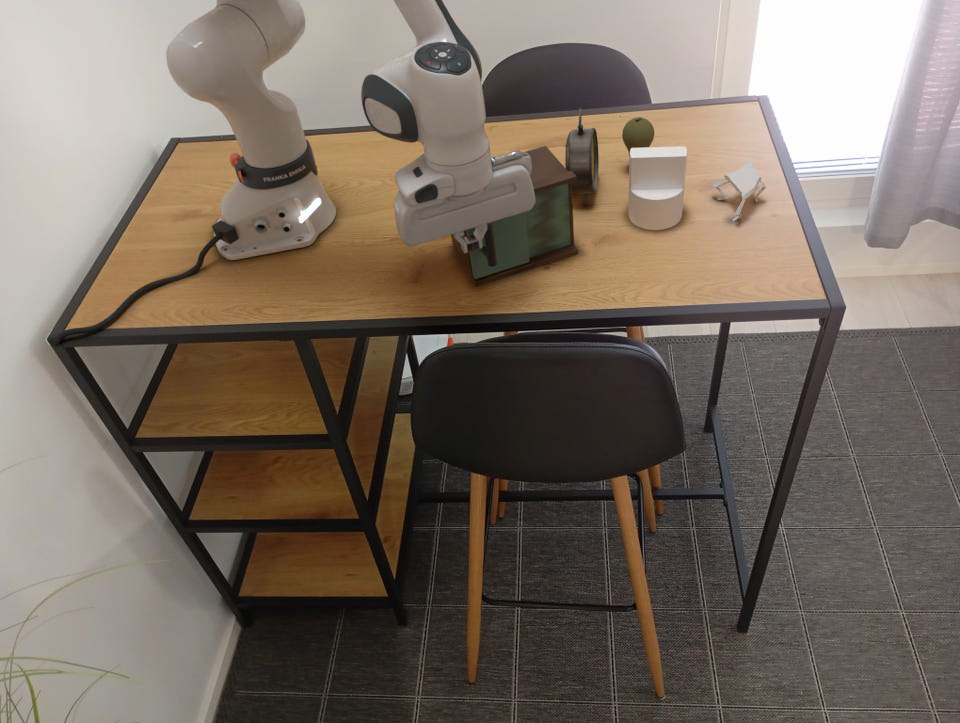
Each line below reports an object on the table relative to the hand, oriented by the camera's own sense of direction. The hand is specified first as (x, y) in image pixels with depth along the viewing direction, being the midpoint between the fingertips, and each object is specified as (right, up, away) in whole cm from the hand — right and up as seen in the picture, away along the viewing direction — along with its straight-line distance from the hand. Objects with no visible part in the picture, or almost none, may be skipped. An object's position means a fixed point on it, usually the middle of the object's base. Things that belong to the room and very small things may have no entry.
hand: (472, 248), depth 117 cm
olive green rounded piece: (+30, +19, +28) cm, 45 cm away
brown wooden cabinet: (+7, +2, +15) cm, 17 cm away
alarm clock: (+19, +13, +25) cm, 34 cm away
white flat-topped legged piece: (+45, +10, +17) cm, 49 cm away
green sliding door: (+5, -3, +8) cm, 10 cm away
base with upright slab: (+31, +8, +18) cm, 37 cm away
